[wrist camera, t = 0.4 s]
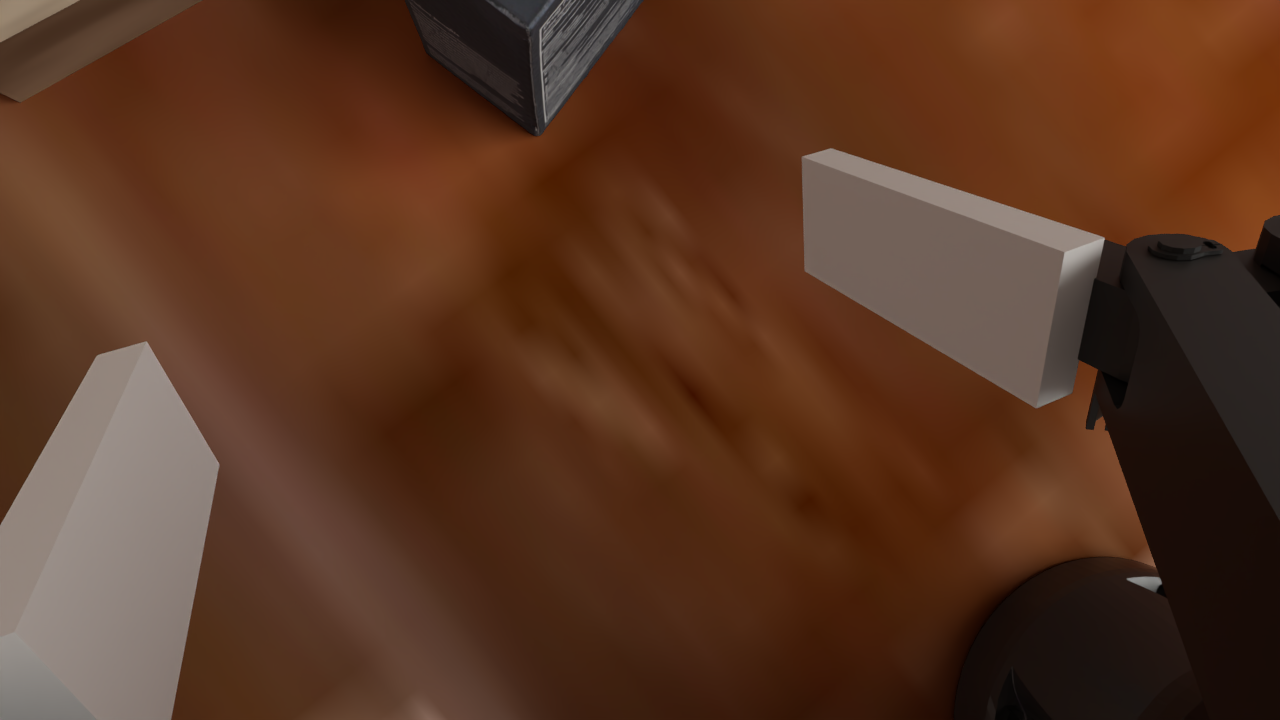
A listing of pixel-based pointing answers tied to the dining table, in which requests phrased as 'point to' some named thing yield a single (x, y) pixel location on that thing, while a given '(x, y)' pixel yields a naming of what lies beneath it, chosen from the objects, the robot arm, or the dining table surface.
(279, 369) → the dining table surface
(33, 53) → the tower base block
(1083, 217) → the dining table surface
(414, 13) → the small box
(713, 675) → the dining table surface
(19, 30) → the tower top block
